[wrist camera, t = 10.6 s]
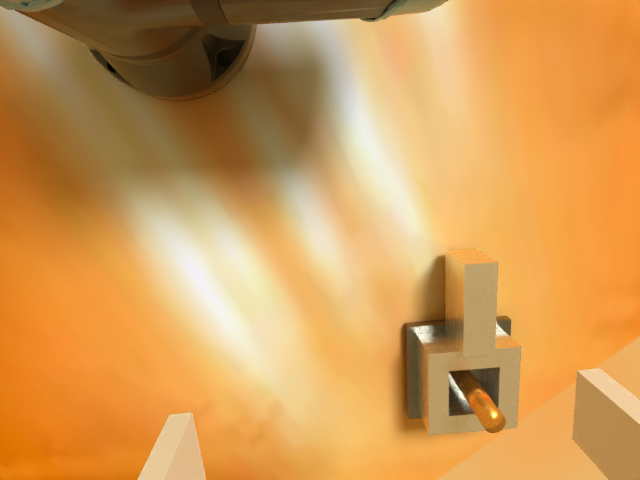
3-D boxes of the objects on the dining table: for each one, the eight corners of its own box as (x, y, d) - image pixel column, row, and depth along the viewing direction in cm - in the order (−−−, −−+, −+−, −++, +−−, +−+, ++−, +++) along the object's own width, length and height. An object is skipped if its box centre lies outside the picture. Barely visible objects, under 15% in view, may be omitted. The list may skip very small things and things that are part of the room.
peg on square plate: (405, 323, 43) (432, 371, 34) (506, 316, 43) (561, 361, 34) (406, 412, 45) (432, 480, 36) (502, 405, 46) (552, 471, 36)
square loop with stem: (415, 252, 40) (430, 267, 35) (504, 246, 40) (531, 259, 35) (418, 409, 44) (431, 442, 39) (498, 403, 44) (522, 434, 39)
